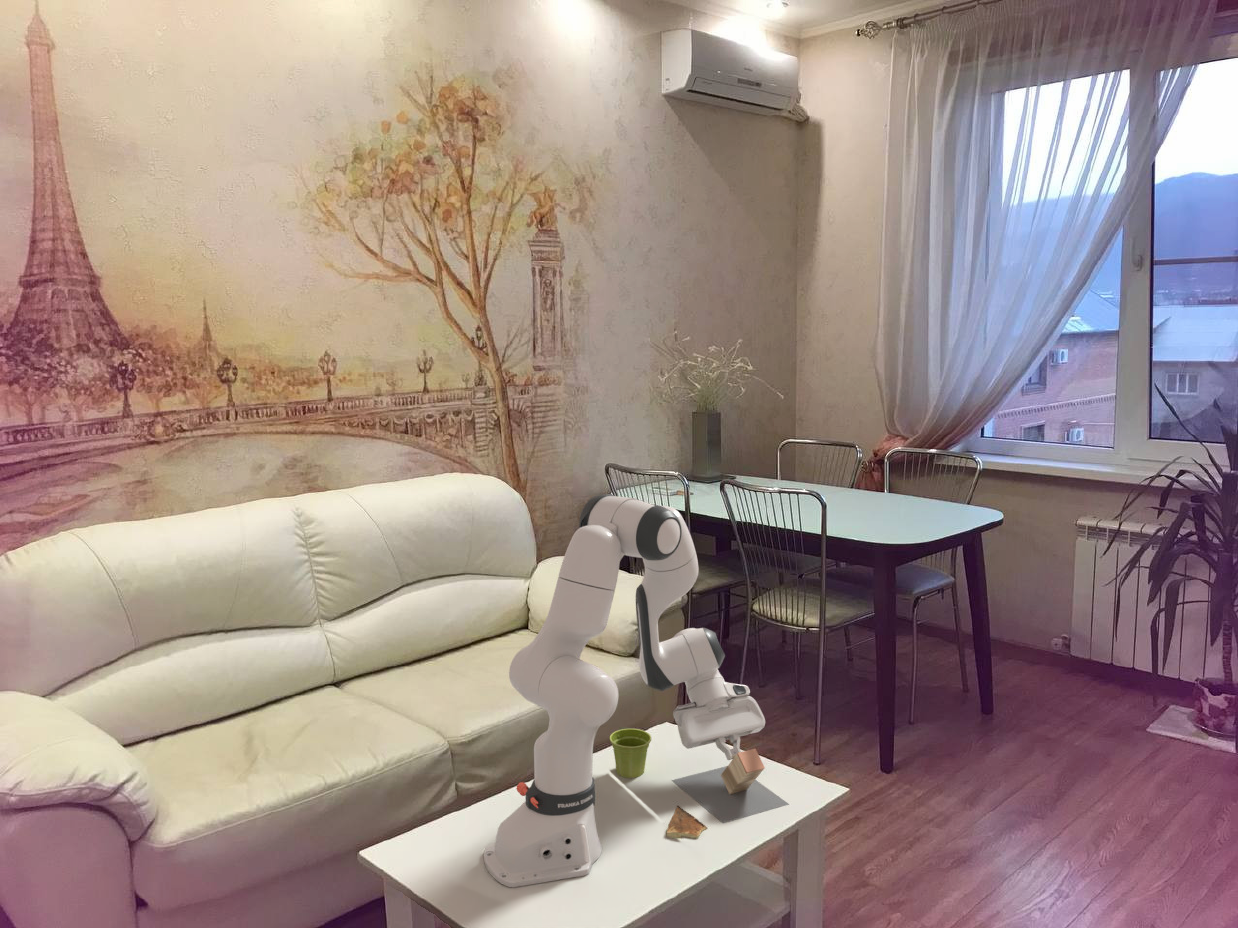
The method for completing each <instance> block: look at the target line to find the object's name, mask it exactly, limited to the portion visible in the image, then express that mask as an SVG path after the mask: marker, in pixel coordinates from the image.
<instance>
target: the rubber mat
mask: <svg viewBox="0 0 1238 928" xmlns="http://www.w3.org/2000/svg"><path fill="white" fill-rule="evenodd" d="M727 766H728V765H726V766H723V767H719V768H715V769H710V770H706V771H702V772H699V773H695V774H692V775H687V776H683V777H682V776H681V777H679V778H675V779H671V782H673V783H674V784H675V785H677V786H678V787H679V788H680V789H681V790H682V791H683V792H685V793H686V794H687V795H688V796H689V797H691V798H692V799H693V800H695V802H697V803H698V804H699V805H701V807H702V808H704V809H705V810H706V811H707V812H709V813H710V814H711V815H712V816H714V817H715V818H716V819H717V820H718V821H719V822H721V823H722V824H726V823H730V822H733V821H736V820H739V819H743V818H747V817H750V816H754V815H757V814H760V813H764V812H767V811H771V810H774V809H778V808H781V807H784V806H788V805H790V803H789V802H787V801H786V800H784V799H783V798H782V797H780V796H779V795H777V794H776V793H774V791H772V790H771V789H769V788H768V787H766V786H765V785H764V784H762V783H761V782H759V781H758V780H757V779H755V781H754V782H753V783H752V784H751V785H750V787H749V788H748V789H747V790H744V791H740V792H737V793H733V794H729V792H728V790H727V788H726V786H725V783H724V781H723V779H722V777H721V774H722V773H723V771H724V770H725V769H726V768H727Z"/></svg>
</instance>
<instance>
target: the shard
mask: <svg viewBox="0 0 1238 928" xmlns="http://www.w3.org/2000/svg"><path fill="white" fill-rule="evenodd" d="M674 811H675V812H674V814H673V815H672V817H671V819H670V820H669V823H668V826H667V830H666V836H667V838H674V839H683V840H684V838H683V837H686V838H691V839H699V837H700V835H701V833H702V832H704V830H708V827H707V826H706V825H705V824H704V823H703V822H701V821H699V819H698V818H696V817H695V816H694V815H692V813H691V814H690V813H689V812H688V811H686V810H685V809H683V808H682V807H681V806H679V805H677V806H676V808H675V810H674Z"/></svg>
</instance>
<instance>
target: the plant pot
mask: <svg viewBox="0 0 1238 928" xmlns="http://www.w3.org/2000/svg"><path fill="white" fill-rule="evenodd" d="M609 741H610V743H611V745H612V748H613V753H614V754H613V756H614V761H615V769H616V774H617V775H619V776H620V777H623V778H628V779H632V778H633V779H634V778H638V777H641V776H642V775H643V774H644V773H645V770H646V769H645V768H646V762H647V756H648V755H647V754H648V749H649V746H650V743H651V741H652V734H650V733H649V732H648V731H646V730H643V729H639V728H624V729H623V728H622V729H618V730H615V731H614V732H612V733H611V734H610V736H609Z"/></svg>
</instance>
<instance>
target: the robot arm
mask: <svg viewBox="0 0 1238 928" xmlns="http://www.w3.org/2000/svg"><path fill="white" fill-rule="evenodd" d="M578 527H579V528H578V529H577V530H575V532H574V533H573V535H572V537H571V539H570V541H569V544H568V546H567V547H566V548H567V549H566V551H565V554H564V557H563V559H562V561H561V565H560V569H559V573H558V576H557V577H558V578H557V580H556V585H555V589H554V592H553V596H552V600H551V603H550V607H549V610H548V613H547V616H546V619H545V621H544V622H543V625H542V626H541V628H540V630H539V632H538V633H537V635H536V636H535V638H534V639H533V640H532V641H531V642H530V643H529V644H528V645H526V646H523V648H521V649H520V650H519V651H517V653H516V654H515V655H514V657H513V658H512V661H511V662H510V665H509V670H508V671H509V672H508V675H509V677H508V678H509V682H510V684H511V686H512V687H513V689H515V690H516V691H517V692H518V694H519V695H521V696H522V697H523V698H524V699H525V700H526V701H528V702H530V703H532V704H534V705H536V706H537V707H540V708H542V709H544V710H546V712H547V714H548V717H549V723H548V729H547V730H545V731H544V732H543V733H542V734H540V736H538V738H536V740H535V743H534V746H533V756H534V757H533V762H534V763H533V765H534V768H533V770H534V771H533V772H534V774H533V775H534V779H533V781H532V782H531V785H530V786H528V785H527V783H525V782H524V781H522V782H519V783H518V784H517V785H516V788H515V789H516V791H517V793H519V795H520V796H522V797H525V801H524V802H523V803H522V804H521V805H520V806H519V807H517V808H516V809H515V810H514V811H513V812H512V813H511V814H510V815H509V816H508V817H506V818H505V819H504V820H503V821H502V822H500V824H499V826H498V827H497V832H496V836H495V842H494V843H492V844H490V845H487V846H486V847H485V849H484V851H483V862H484V863H483V864H484V866H485V868H486V869H487V872H488V873H489V874H490V876H492V877H493V879H494V880H496V881H497V882H498V883H500V884H502V885H504V886H506V887H510V888H517V887H522V886H528V885H535V884H541V883H546V882H552V881H558V880H565V879H570V878H576V877H583V876H586V875H588V874H589V873H590V871H591V869H592V865H593V864H594V863H595V862H596V861H597V860H598V859H599V857H600V856H601V854H602V850H603V846H602V843H601V841H600V838H599V834H598V833H599V832H598V827H597V823H596V817H595V816H596V815H595V805H596V785H595V784H596V783H595V778H594V777H593V762H594V761H593V756H594V753H593V752H594V742H595V738H596V735H597V732H598V729H599V728H600V726H602V725H604V724H606V723H607V722H608V721H609V719H610V718H612V717H613V715H614V713H615V712H616V709H617V707H618V702H619V687H618V686H617V683H616V682H615V680H614V679H613V678H612V677H611V676H610V675H608V674H607V673H606V672H604V670H602V669H601V668H599V667H598V666H596V665H594V664H592V663H589V662H586V661H584V660H582V659H581V655H582V654H583V651H584V648H585V647H586V645H587V644H588V643H589V641H590V640H592V639H594V638H595V637H598V636H599V635H602V633H603V632H604V631H605V630H606V628H607V625H608V621H609V617H610V614H611V613H610V612H611V609H612V604H613V600H614V596H615V591H616V587H617V583H618V576H619V571H620V564H621V563H620V562H621V560H622V559H623V558H624V556H627V557H633V558H638V559H639V558H641V559H642V562H643V566H644V574H643V578H642V581H641V582H640V583H639V585H638V586H637V587H636V590H635V610H636V611H635V614H636V625H637V633H638V634H637V636H638V644H639V646H638V655H639V660H638V661H639V662H638V665H639V672H640V674H641V675H640V676H641V678H642V679H643V681H644V683H645V684H646V687H649V688H651V689H653V690H656V691H659V692H664V691H667V690H669V689H670V688H673V687H674V686H676V685H679V684H682V683H685V686H686V693H687V696H688V698H689V700H690V703H686V704H681V705H677V706H676V708H675V709H674V710H673V712H672V713H673V714H672V716H673V720H674V721H675V723H676V725H677V729H678V730H677V731H678V734H679V738H680V741H681V744H682V745H683V747H684V748H686V749H689V750H690V749H693V748H697V747H702V746H705V745H709V744H714V743H715V746H716V748H718V749H719V750H720V751H721V752H722V753H723V754H724V755H725V758H726V760H727V761H732V760H733V758H734V757H735V756H736V754H737V753H739V752H742V751H741V748H740V747H741V746H740V745H741V737H743V736H748V735H750V734H755V733H760V731H762V730H763V729H764V728H765V725H766V719H765V716H764V714H763V712H762V710H761V707H760V706H759V704H758V702H757V701H756V699H754V697H752V696H750V693H751V690H750V687H749V686H748V685H745V684H738V683H733V682H727V681H725V679H724V677H723V675H722V674H721V672H720V671H719V669H720V668H721V666H722V664H723V662H724V660H725V658H726V654H725V652H724V649H723V648H722V646H721V644H720V641H719V639H718V636H717V633H716V632H715V631H714V630H710V629H708V628H706V627H700V628H695V627H689V628H686V629H685V628H684V629H682V630H680V631H678V632H677V633H675V635H673V637H672V638H670V639H666V640H663V641H660V639H659V638H660V635H659V625H658V624H659V623H658V622H659V619H660V617H661V616H662V614H663V613H664V612H665V611H666V610H667V609H668V608H669V607H671V605H672V604H674V603H675V602H677V601H678V600H680V599H681V598H682V597H684V596H685V595H686V594H687V593H688V592H689V591H690V590H691V589H692V588H693V587H694V585H695V583H696V582H697V579H698V576H699V570H700V569H699V562H698V561H699V560H698V556H697V551H696V548H695V544H694V541H693V538H692V535H691V533H690V530H689V527H688V526H687V523H686V521H685V520H684V518H683V515H682V514H681V513H680V512H679V511H678V510H677V508H674V507H672V506H669V505H655V504H652V503H648V502H645V501H642V500H639V499H637V498H633V497H628V496H626V497H625V496H619V495H617V496H616V495H615V494H614V495H613V494H607V493H606V494H598V495H594V496H592V497H591V498H590V499H588V501H587V502H586V503H585V505H584V506H583V507H582V510H581V512H580V515H579V522H578ZM726 740H729V742H730V744H733V746H732V747H733V748H730V747H729V746H728V745H727V744H726V742H727V741H726Z"/></svg>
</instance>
